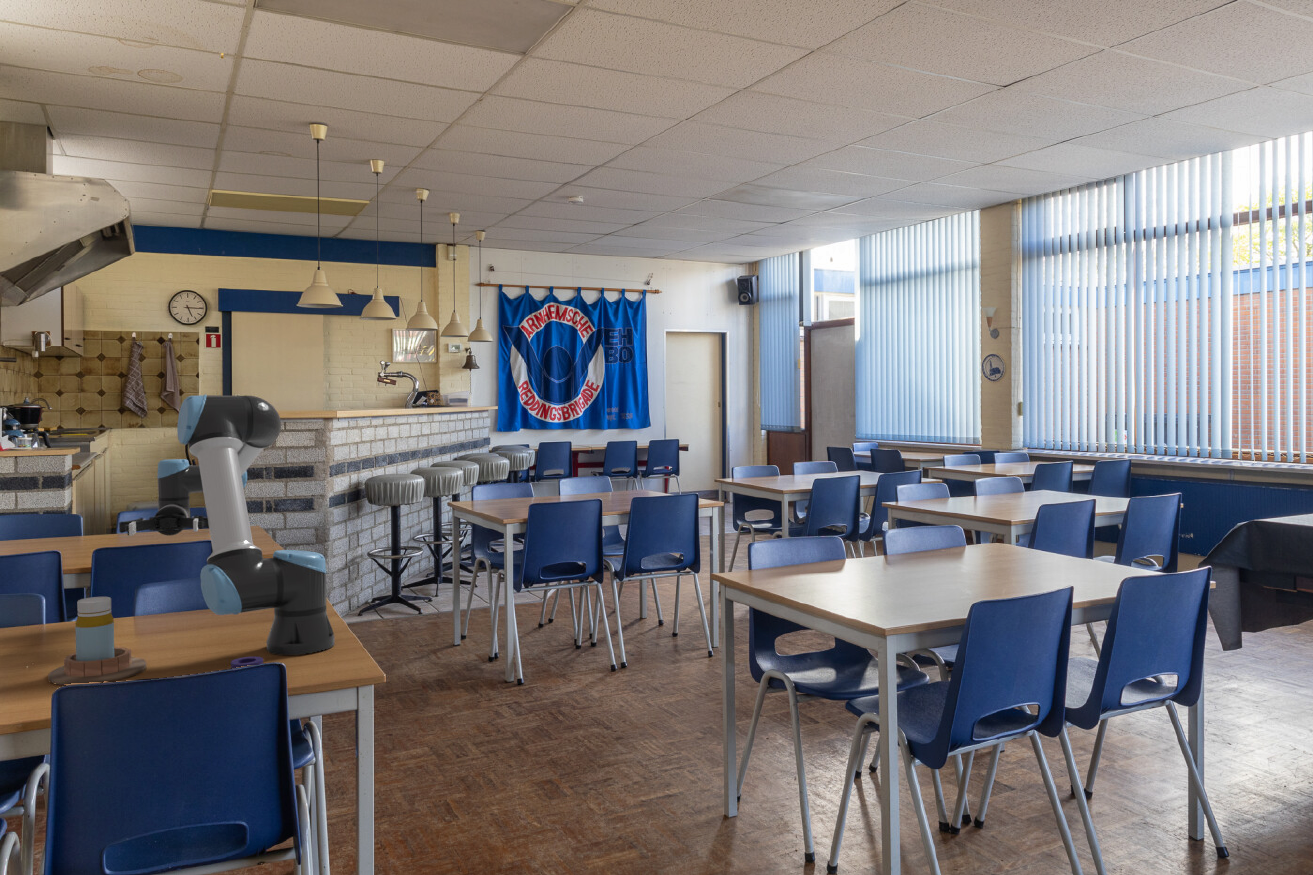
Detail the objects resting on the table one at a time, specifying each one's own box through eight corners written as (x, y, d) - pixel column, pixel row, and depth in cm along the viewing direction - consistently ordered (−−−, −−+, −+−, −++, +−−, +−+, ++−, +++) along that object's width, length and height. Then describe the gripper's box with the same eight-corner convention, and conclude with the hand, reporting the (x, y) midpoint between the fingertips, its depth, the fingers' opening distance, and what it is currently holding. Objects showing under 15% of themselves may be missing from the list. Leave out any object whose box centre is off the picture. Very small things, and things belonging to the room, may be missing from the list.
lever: (244, 669, 196) (244, 655, 196) (269, 671, 195) (269, 657, 194) (204, 686, 184) (204, 671, 184) (230, 688, 183) (230, 673, 183)
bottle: (91, 663, 196) (90, 595, 196) (121, 664, 196) (120, 596, 195) (68, 672, 189) (67, 602, 189) (99, 673, 189) (98, 603, 188)
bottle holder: (161, 670, 195) (160, 652, 194) (68, 691, 180) (67, 671, 180) (125, 656, 205) (124, 639, 205) (34, 675, 191) (34, 656, 191)
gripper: (224, 531, 239) (221, 540, 220) (116, 537, 229) (103, 547, 209) (223, 503, 239) (220, 509, 219) (115, 508, 229) (102, 515, 209)
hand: (163, 528), depth 214 cm, fingers open, 13 cm apart
